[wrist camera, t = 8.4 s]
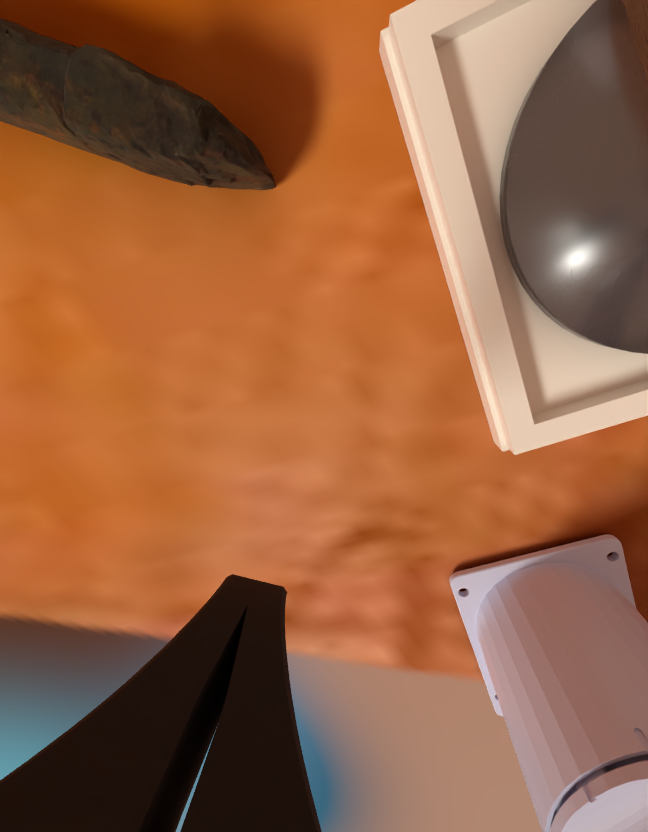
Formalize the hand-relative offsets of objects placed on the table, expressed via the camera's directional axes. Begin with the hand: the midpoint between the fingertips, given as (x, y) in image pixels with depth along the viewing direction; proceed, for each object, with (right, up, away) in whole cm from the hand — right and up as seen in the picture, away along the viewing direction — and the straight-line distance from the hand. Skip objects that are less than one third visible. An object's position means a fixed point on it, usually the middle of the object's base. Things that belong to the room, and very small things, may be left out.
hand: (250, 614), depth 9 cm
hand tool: (-9, +18, +7) cm, 21 cm away
